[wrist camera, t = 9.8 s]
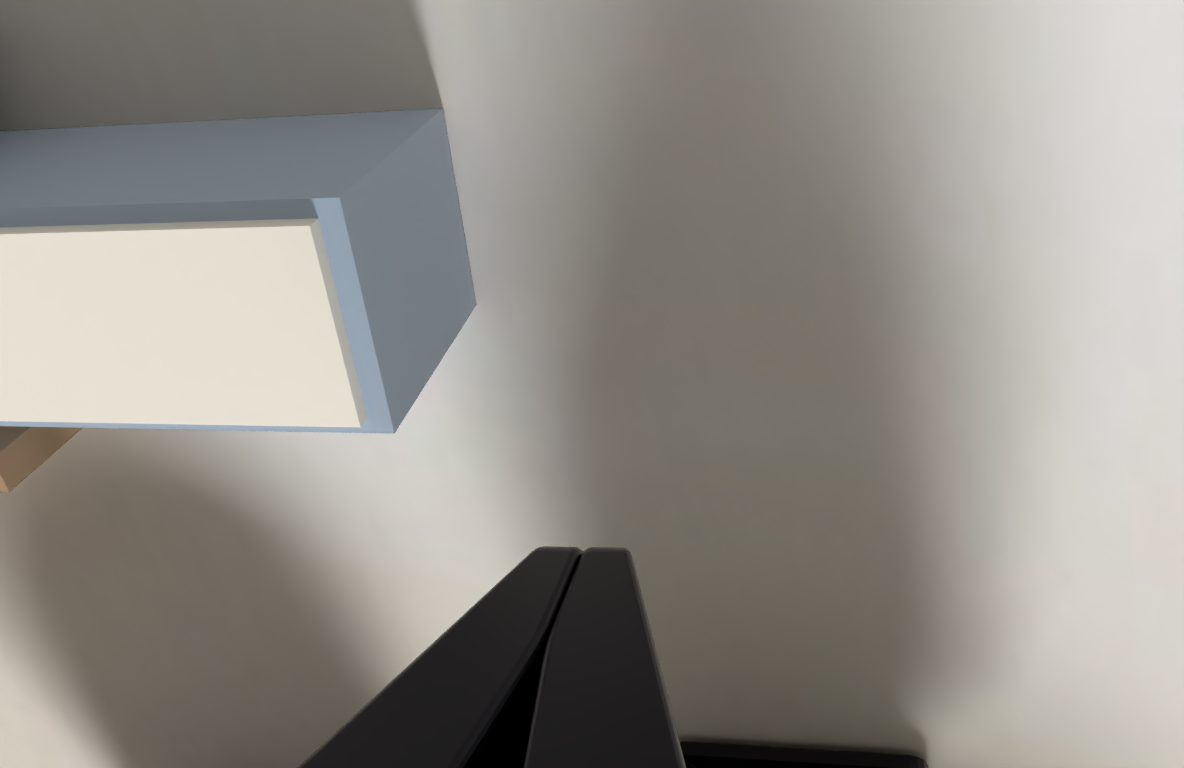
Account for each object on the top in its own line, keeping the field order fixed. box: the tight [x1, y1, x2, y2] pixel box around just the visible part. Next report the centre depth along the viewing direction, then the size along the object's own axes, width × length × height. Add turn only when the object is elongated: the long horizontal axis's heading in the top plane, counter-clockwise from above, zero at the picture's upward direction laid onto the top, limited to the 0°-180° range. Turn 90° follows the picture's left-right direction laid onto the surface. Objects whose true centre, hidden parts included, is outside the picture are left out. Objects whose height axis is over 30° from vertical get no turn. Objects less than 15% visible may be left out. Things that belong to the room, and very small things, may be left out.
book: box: [0, 108, 476, 433], centre depth 18 cm, size 12×4×5 cm, turn 96°
